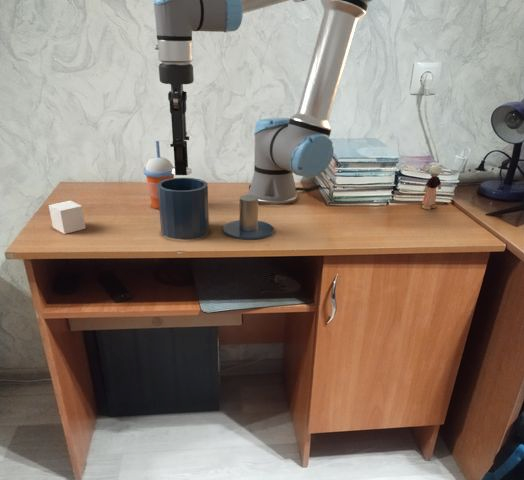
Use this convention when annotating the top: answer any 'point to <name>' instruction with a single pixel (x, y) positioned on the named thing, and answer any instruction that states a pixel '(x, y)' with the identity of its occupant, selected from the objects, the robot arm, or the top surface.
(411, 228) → the top surface
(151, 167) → the cup with straw
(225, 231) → the tin lid
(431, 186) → the grandmother figurine
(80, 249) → the top surface
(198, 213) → the tin
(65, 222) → the white cube
